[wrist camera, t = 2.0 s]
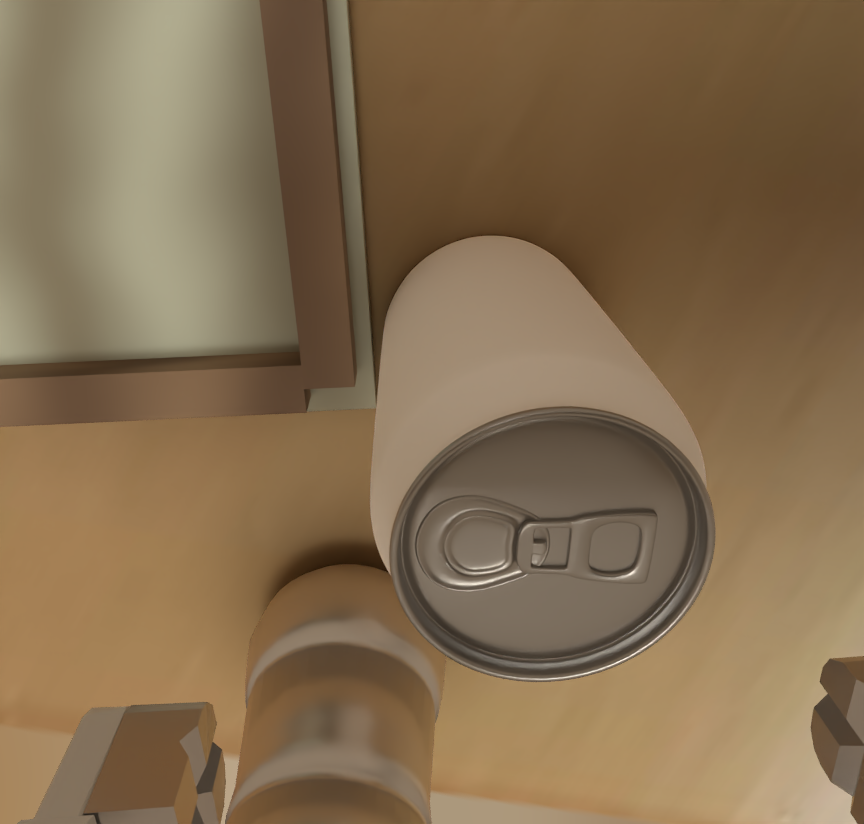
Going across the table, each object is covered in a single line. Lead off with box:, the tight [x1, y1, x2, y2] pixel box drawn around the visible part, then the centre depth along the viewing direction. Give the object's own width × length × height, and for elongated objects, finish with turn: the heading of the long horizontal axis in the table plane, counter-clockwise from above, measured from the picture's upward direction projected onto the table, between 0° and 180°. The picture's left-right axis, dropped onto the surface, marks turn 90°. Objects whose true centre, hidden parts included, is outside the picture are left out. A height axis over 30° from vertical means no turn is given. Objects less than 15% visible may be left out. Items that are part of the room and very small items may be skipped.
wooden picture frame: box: [0, 0, 377, 427], centre depth 20 cm, size 16×16×2 cm
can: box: [370, 236, 715, 682], centre depth 18 cm, size 6×6×12 cm
